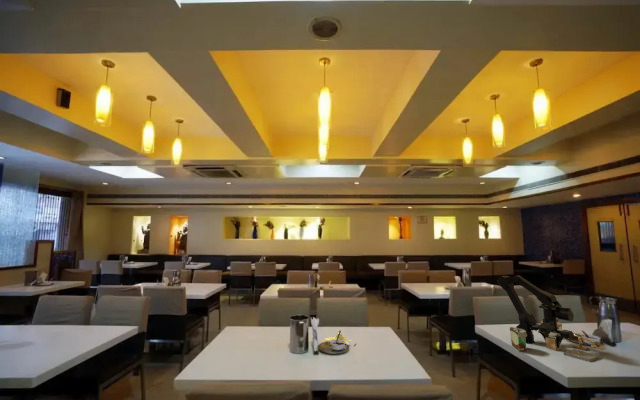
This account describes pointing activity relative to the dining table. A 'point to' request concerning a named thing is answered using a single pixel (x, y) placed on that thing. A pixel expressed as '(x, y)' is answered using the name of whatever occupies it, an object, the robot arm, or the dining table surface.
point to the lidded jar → (558, 329)
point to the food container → (518, 339)
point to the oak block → (551, 343)
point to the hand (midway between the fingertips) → (553, 346)
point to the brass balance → (597, 346)
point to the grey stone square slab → (582, 355)
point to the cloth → (336, 338)
